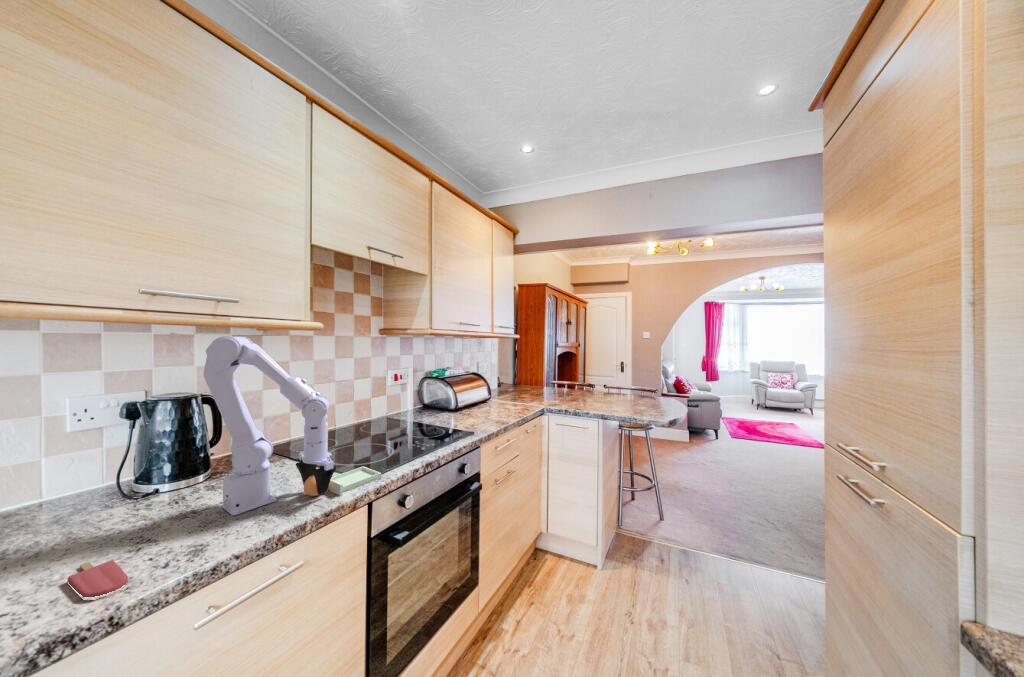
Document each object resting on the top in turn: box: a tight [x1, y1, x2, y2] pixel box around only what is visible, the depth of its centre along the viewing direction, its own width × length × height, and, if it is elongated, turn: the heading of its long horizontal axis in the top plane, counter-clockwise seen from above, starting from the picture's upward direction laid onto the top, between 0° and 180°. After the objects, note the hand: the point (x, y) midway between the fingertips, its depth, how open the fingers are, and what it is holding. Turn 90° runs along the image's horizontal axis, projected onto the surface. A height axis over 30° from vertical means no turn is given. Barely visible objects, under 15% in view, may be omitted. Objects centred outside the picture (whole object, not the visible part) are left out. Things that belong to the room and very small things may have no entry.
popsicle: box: [67, 559, 129, 597], centre depth 60 cm, size 5×2×15 cm
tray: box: [331, 466, 382, 493], centre depth 103 cm, size 12×9×2 cm
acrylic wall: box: [327, 479, 344, 496], centre depth 97 cm, size 1×12×3 cm, turn 57°
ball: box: [303, 475, 319, 497], centre depth 93 cm, size 6×6×6 cm
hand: (315, 489), depth 93 cm, fingers open, 7 cm apart
